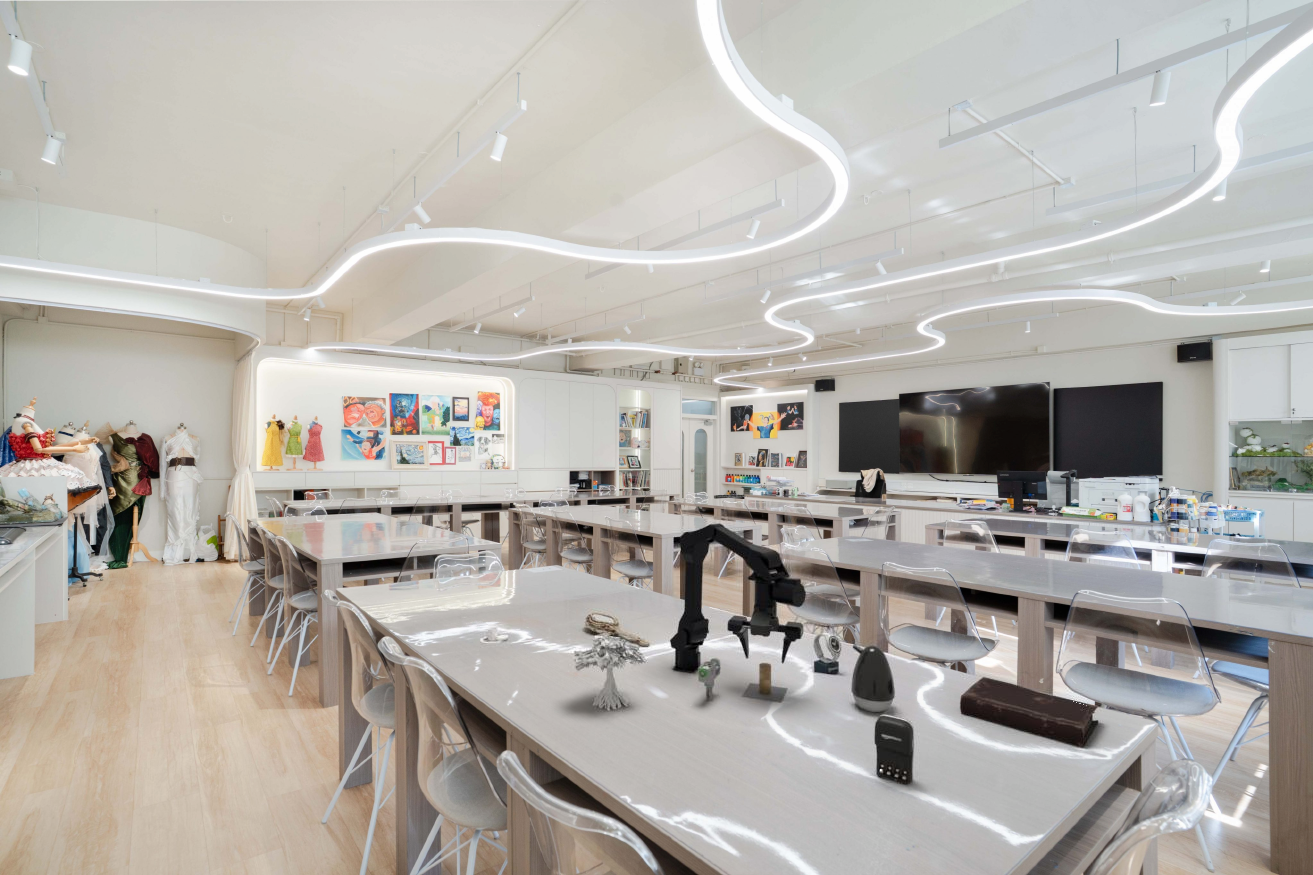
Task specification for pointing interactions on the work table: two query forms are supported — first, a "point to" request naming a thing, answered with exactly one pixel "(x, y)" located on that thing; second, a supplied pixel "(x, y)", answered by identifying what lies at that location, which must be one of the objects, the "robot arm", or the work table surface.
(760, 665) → the dowel
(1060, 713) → the diary
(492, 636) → the teacup and saucer
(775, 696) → the mat
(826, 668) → the watch
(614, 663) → the tree
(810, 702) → the work table surface
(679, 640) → the robot arm
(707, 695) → the mechanical component
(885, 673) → the pump dispenser
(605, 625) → the hand mirror
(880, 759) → the battery charger
